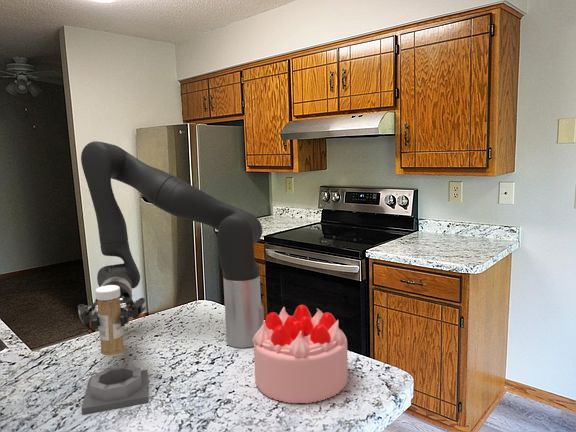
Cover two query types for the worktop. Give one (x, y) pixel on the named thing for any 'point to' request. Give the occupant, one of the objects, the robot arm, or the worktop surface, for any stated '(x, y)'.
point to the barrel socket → (116, 389)
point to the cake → (300, 356)
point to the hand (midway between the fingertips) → (109, 323)
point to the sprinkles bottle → (109, 319)
